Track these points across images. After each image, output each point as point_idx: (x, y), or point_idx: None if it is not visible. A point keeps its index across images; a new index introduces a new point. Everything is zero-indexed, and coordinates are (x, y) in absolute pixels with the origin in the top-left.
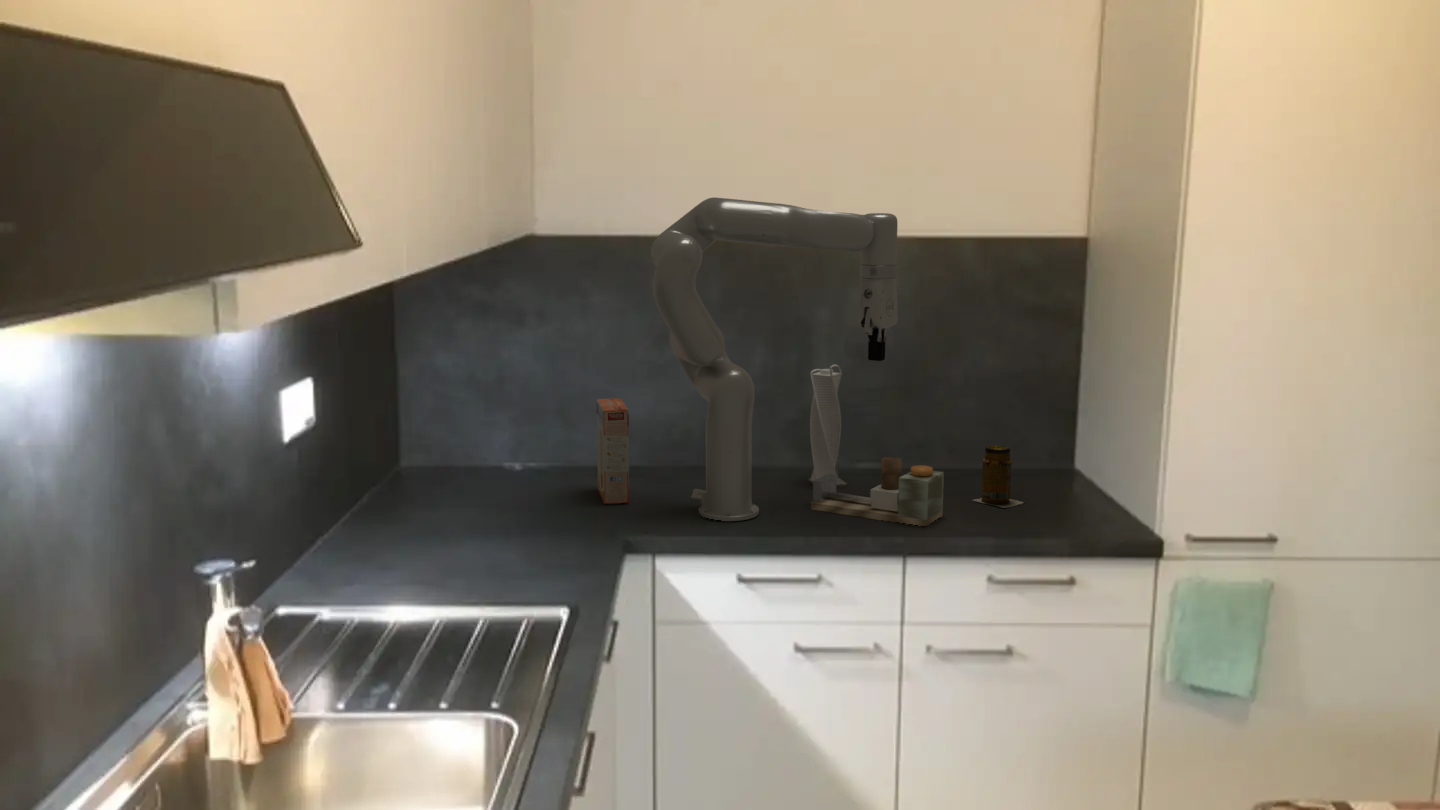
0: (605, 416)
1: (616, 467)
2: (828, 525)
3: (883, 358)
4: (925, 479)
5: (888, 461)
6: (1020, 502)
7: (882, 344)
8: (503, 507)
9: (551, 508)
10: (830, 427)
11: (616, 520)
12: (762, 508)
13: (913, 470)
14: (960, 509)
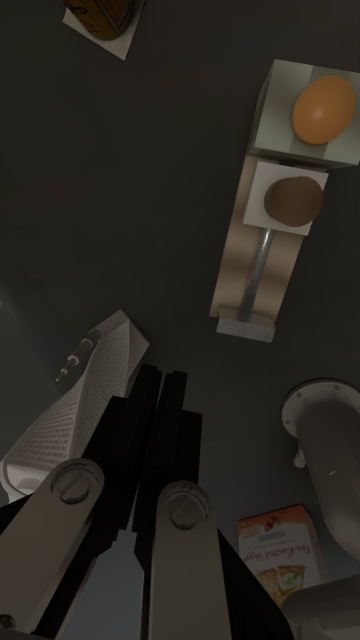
0: None
1: (319, 559)
2: (356, 278)
3: (154, 372)
4: None
5: (322, 204)
6: None
7: (171, 450)
8: (339, 579)
9: (334, 551)
10: (107, 383)
11: None
12: (282, 381)
13: (343, 129)
14: (194, 69)
